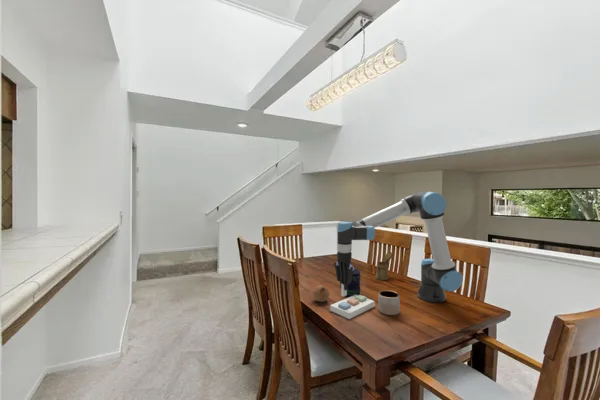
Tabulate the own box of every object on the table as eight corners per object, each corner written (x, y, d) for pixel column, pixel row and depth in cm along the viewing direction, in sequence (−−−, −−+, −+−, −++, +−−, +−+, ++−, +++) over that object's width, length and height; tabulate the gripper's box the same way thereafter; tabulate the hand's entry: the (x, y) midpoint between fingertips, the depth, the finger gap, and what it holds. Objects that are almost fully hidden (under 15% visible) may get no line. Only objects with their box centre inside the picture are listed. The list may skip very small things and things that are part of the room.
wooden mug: (395, 277, 204) (395, 253, 203) (381, 280, 198) (381, 255, 197) (386, 274, 212) (386, 250, 211) (372, 277, 206) (372, 252, 205)
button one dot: (350, 310, 150) (350, 303, 149) (345, 312, 147) (345, 306, 146) (343, 307, 153) (343, 301, 153) (338, 309, 150) (338, 303, 150)
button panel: (374, 306, 157) (374, 301, 157) (349, 319, 142) (349, 313, 142) (355, 299, 167) (355, 294, 166) (330, 310, 152) (330, 305, 152)
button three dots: (358, 306, 154) (358, 300, 154) (353, 308, 151) (353, 302, 151) (352, 303, 158) (352, 297, 157) (346, 306, 155) (346, 300, 154)
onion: (324, 308, 162) (327, 296, 157) (309, 302, 165) (312, 289, 160) (329, 296, 170) (332, 284, 165) (314, 291, 173) (317, 279, 168)
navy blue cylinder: (340, 295, 173) (340, 271, 172) (349, 290, 180) (349, 267, 179) (354, 299, 166) (354, 274, 165) (363, 294, 173) (363, 270, 172)
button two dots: (366, 302, 159) (366, 296, 159) (361, 305, 156) (361, 299, 156) (359, 300, 162) (359, 294, 162) (354, 302, 159) (354, 296, 159)
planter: (396, 318, 143) (397, 299, 143) (375, 313, 149) (375, 295, 148) (401, 309, 152) (401, 292, 152) (381, 305, 158) (381, 288, 158)
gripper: (358, 252, 146) (358, 297, 147) (339, 248, 155) (339, 290, 157) (349, 254, 141) (349, 301, 142) (330, 250, 151) (330, 293, 152)
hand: (343, 295), depth 149 cm, fingers closed
